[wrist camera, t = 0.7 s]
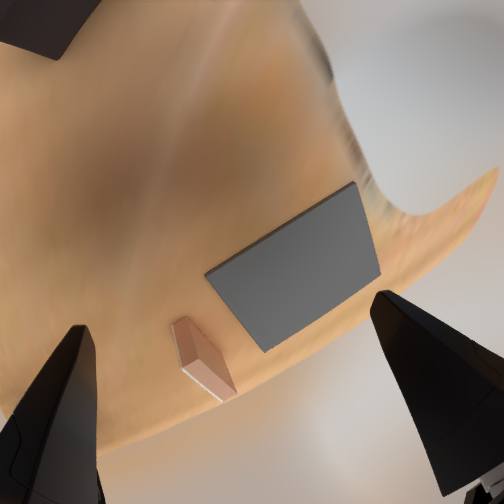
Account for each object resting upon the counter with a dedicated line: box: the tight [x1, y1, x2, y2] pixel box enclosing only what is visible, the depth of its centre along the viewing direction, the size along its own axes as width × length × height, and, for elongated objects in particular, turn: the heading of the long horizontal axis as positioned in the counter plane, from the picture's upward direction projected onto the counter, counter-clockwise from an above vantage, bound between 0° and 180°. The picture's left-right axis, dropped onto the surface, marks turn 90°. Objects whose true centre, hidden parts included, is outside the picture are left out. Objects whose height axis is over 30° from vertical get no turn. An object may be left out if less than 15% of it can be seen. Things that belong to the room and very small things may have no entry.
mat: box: [205, 182, 381, 353], centre depth 28 cm, size 14×11×1 cm
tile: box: [171, 316, 237, 402], centre depth 25 cm, size 2×6×5 cm, turn 27°
